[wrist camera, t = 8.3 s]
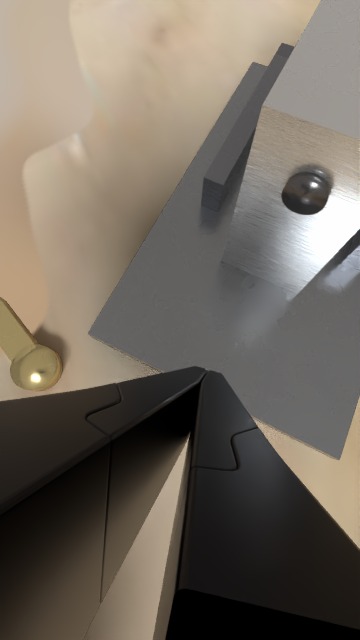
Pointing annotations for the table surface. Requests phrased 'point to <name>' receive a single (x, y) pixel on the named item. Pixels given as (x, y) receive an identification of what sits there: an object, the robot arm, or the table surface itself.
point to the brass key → (27, 354)
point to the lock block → (304, 157)
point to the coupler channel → (241, 296)
